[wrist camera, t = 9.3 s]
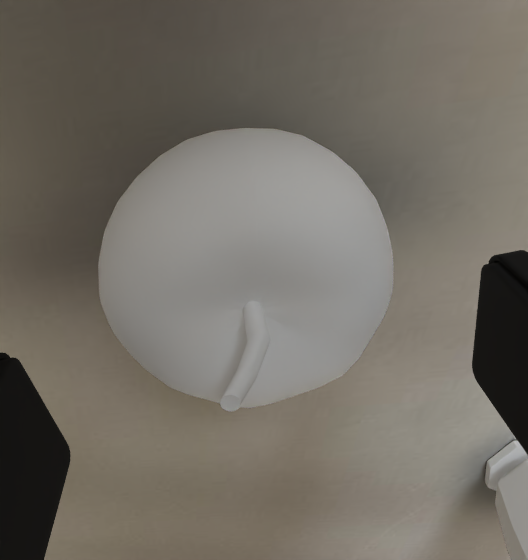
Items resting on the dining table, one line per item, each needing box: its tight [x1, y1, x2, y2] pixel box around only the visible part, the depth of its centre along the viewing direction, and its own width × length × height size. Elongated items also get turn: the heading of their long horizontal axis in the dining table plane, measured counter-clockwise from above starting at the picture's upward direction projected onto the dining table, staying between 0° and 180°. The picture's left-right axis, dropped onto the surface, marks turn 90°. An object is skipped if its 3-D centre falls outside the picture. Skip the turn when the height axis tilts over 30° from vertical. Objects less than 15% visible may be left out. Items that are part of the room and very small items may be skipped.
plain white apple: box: [98, 128, 393, 411], centre depth 12 cm, size 7×7×8 cm
